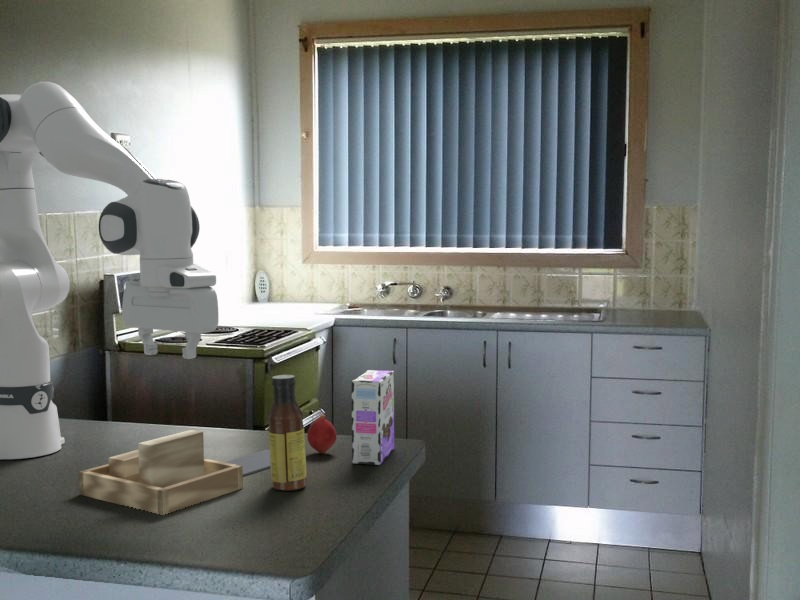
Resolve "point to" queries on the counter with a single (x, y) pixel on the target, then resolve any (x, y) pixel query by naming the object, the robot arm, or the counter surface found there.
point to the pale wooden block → (171, 459)
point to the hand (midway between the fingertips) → (169, 356)
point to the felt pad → (253, 462)
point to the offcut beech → (124, 464)
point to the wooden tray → (162, 500)
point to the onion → (321, 435)
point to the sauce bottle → (286, 437)
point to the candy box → (372, 417)
